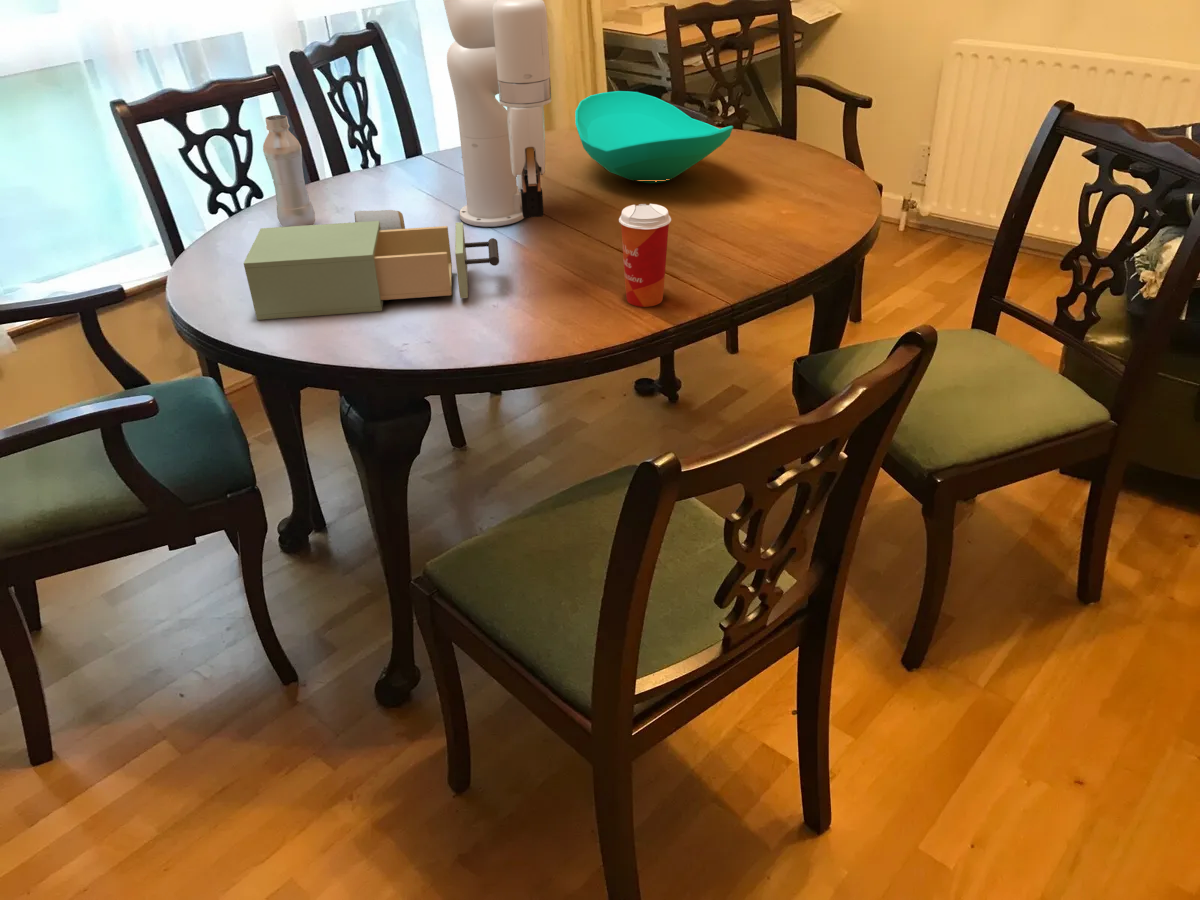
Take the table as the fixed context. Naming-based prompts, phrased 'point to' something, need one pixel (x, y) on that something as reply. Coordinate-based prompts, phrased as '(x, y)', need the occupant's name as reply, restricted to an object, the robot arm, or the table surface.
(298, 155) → the plastic bottle
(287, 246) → the cabinet
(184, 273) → the table surface
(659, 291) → the paper cup
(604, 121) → the table top decor
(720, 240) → the table surface
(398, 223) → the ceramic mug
